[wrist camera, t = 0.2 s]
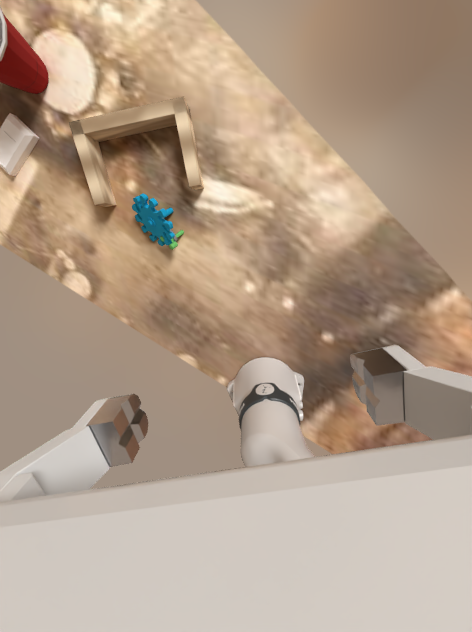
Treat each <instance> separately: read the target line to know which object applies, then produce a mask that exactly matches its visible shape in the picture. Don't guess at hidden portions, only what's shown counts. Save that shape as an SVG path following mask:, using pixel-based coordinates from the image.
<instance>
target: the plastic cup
mask: <svg viewBox="0 0 472 632" xmlns="http://www.w3.org/2000/svg"><path fill="white" fill-rule="evenodd" d="M0 82H2V83H4V84H6V85H9V86H11V87H14V88H18V89H21V90H23V91H26V92H29V93H35V94H38V93H41V92H43V91H44V90H45V89H46V87H47V84H48V72H47V69H46V66H45V65H44V63H43V62H42V60H41V59H40V57H39V56H38V55H37V54H36V53H35V51H34V50H33V49H32V48H31V47H30V46H29V44H28V43H27V42H26V40H25V39H24V38H23V37H22V36H21V34H20V33H19V32H18V31H17V30H16V29H15V27H14V26H13V25H12V24H11V23H10V22H9V20H8V19H7V18H6V17H5V15H4V14H3V12H2V10H1V7H0Z"/></svg>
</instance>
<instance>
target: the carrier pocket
mask: <svg viewBox="0 0 472 632" xmlns="http://www.w3.org/2000/svg"><path fill="white" fill-rule="evenodd" d="M69 125H70V128H71V131H72V135H73V138H74V141H75V144H76V147H77V150H78V154H79V157H80V160H81V163H82V166H83V170H84V173H85V176H86V179H87V182H88V186H89V189H90V192H91V195H92V198H93V201H94V205H98V206H105V207H109V206H114V205H116V202H115V198H114V195H113V191H112V188H111V184H110V181H109V177H108V174H107V170H106V167H105V164H104V160H103V157H102V153H101V150H100V146H99V143H98V142H101V141H105V140H110V139H115V138H119V137H124V136H128V135H133V134H138V133H142V132H147V131H152V130H156V129H161V128H165V127H170V126H175V125H177V128H178V133H179V138H180V143H181V148H182V153H183V158H184V163H185V168H186V173H187V178H188V183H189V187H190V188H192V189H193V190H197V189H203V188H204V185H203V179H202V174H201V169H200V163H199V158H198V152H197V147H196V142H195V136H194V131H193V126H192V120H191V115H190V109H189V107H188V105H187V103H186V101H185V98H184V96H183V97H179V98H174V99H170V100H165V101H161V102H157V103H152V104H148V105H143V106H139V107H134V108H130V109H126V110H121V111H117V112H112V113H108V114H104V115H99V116H95V117H90V118H86V119H81V120H77V121H73V122H69Z"/></svg>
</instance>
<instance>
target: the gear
mask: <svg viewBox="0 0 472 632" xmlns="http://www.w3.org/2000/svg"><path fill="white" fill-rule="evenodd" d="M133 200H134V202H135V204H133V205H132V209H133V210H134V211H135V212H137V213H138V214H137V215H135V218H136V221H137V222H141V223H143V224H144V225H143V226H142V227H141V228H142V230H143V232H144V233H146V232H147V231H150V232H151V233H152V235H150V236H149V238H150V239H151V240H152V241H153V242H154V241H155V240H157V237H158V238H159V240H158V244H159V245H161V246H163V245H165V244H166V245H169V247H170V249H172V250H173V249H174V248H175V247H177V246H178V244H177V243H176V242H177V240H178V239H177V238H178V237H179V236H181V235H182V234H184V232H183V231H182V230H181V231H180V232H178V233H177V234H176V235H175V234H174V233H173V231H172V230H171V229H172V228H173V224H172V222H171V221H166V220H165V219H164V218H165V217H167V216H168V215H170V214H171V213H173V209H172V208H169V209H167V210H165V209H161V210H159V211H157V210H156V209H155V208H154V207H155V206H157V205H158V203H157V201H156V200H155V199H154V198H152V199H150V200H149V205H148V204H147V201H148V196H147V195H145V194H141V195H139V196H137V197H135V198H133Z"/></svg>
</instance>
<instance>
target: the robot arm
mask: <svg viewBox="0 0 472 632" xmlns="http://www.w3.org/2000/svg"><path fill="white" fill-rule="evenodd" d="M351 366H352V367H353V368H354V370H355V372H354V374H353V376H352V378H353V385H354V388H355V392H356V394H357V396H358V398H359V400H360V401H361V402H362V403H364V404H366V405H367V412H368V413H369V415H370V416H371V418H372V419H373V421H374V422H375V424H376V425H385V424H393V423H401V422H405V423H406V424H408V425H409V426H411V427H413V428H414V429H416V430H418V431H420V432H421V433H423V434H425V435H427V436H428V437H430V438H432V439H433V440H429V441H422V442H416V443H409V444H402V445H395V446H388V447H381V448H374V449H367V450H360V451H353V452H346V453H339V454H332V455H326V456H319V457H315V456H314V454H313V453H312V452H311V451H310V449H309V448H308V446H307V444H306V442H305V439H304V437H303V434H302V431H301V428H300V421H302V420H303V412H302V411H301V410H300V409H301V408H303V404H302V402H301V401H302V394H303V386H304V378H303V376H302V375H300V374H298V373H296V372H293V371H292V370H291V369H290V368H289V367H288V366H287V365H286V364H285V363H283V362H281V361H280V360H277V359H274V358H267V357H264V358H257V359H254V360H251V361H249V362H248V363H246V364H245V365H244V366H243V367H242V368H241V369H240V370H239V372H238V374H237V376H236V378H235V379H234V380H232V381H231V382H230V383H229V384H228V385H227V391H228V393H229V395H230V397H231V400H232V402H233V405H234V407H235V409H236V411H237V413H238V415H239V423H240V429H241V457H242V460H243V463H244V465H245V467H243V468H235V469H228V470H221V471H215V472H208V473H200V474H194V475H187V476H180V477H173V478H166V479H159V480H152V481H145V482H138V483H131V484H124V485H117V486H111V487H104V488H97V489H90V488H91V487H92V486H93V485H94V484H95V483H96V482H97V481H98V480H99V479H100V478H101V477H102V476H103V475H104V474H105V473H106V472H107V471H108V469H110V467H113V466H118V465H124V464H129V463H132V462H133V460H134V458H135V456H136V454H137V452H138V450H139V444H138V443H139V442H140V441H141V440H142V439H144V438H145V436H146V433H147V430H148V419H147V416H146V413H145V412H144V411H142V410H141V409H140V405H141V401H140V399H139V397H138V396H137V395H135V394H131V395H125V396H119V397H113V398H106V399H101V400H98V401H96V402H95V403H94V404H93V405H92V406H91V407H90V408H89V409H88V411H87V412H86V413H85V414H84V415H83V416H82V417H81V418H80V420H79V421H78V422H77V423H76V424H75V425H74V426H73V427H72V429H69V430H66V431H64V432H63V433H61V434H60V435H58V436H57V437H55V438H53V439H52V440H50V441H48V442H47V443H45V444H44V445H42V446H40V447H39V448H37V449H36V450H34V451H32V452H31V453H29V454H28V455H26V456H25V457H23V458H21V459H20V460H18V461H17V462H15V463H13V464H12V465H11V466H9V467H7V468H5V469H4V470H2V471H1V472H0V632H472V377H471V376H467V375H463V374H460V373H456V372H452V371H448V370H444V369H440V368H436V367H426V366H424V365H423V364H422V363H420V362H419V361H418V360H416V359H415V358H414V357H412V356H411V355H410V354H408V353H407V352H406V351H405V350H403V349H402V348H401V347H399V346H397V345H392V346H388V347H384V348H379V349H374V350H369V351H364V352H359V353H355V354H351ZM298 383H299V385H298ZM232 391H233V392H232Z"/></svg>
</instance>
